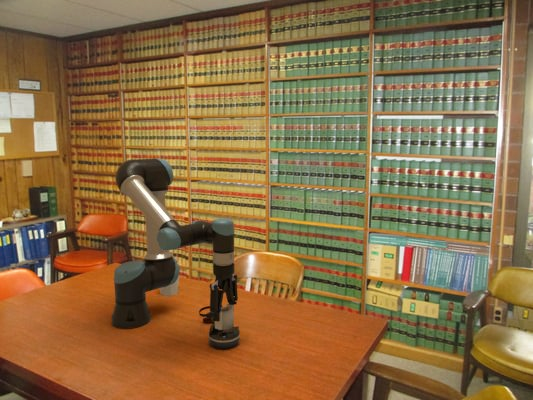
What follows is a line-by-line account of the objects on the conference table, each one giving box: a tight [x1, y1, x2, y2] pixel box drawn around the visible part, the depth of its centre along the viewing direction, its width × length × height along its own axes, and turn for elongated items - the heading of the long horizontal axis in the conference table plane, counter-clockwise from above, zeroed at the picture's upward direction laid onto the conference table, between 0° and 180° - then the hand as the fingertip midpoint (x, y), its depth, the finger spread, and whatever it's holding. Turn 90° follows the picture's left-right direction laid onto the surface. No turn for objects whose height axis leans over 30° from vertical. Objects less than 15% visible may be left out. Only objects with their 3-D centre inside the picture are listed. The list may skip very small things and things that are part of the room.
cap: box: [221, 306, 235, 330], centre depth 152 cm, size 6×6×6 cm
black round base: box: [208, 323, 241, 351], centre depth 153 cm, size 11×11×6 cm
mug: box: [159, 275, 180, 297], centre depth 203 cm, size 12×9×10 cm
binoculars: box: [198, 305, 223, 324], centre depth 172 cm, size 9×11×10 cm
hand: (224, 325), depth 152 cm, fingers closed on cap, 6 cm apart
